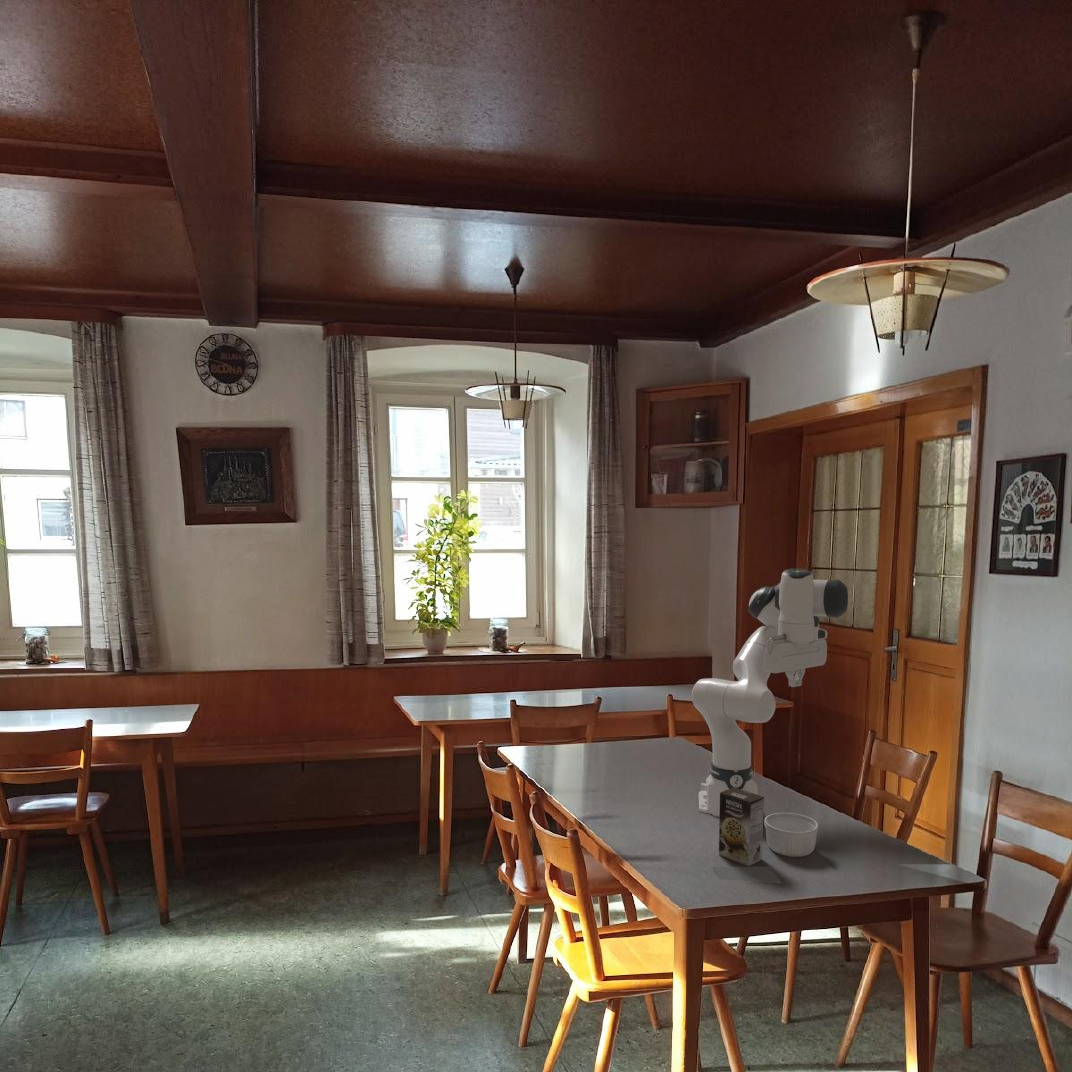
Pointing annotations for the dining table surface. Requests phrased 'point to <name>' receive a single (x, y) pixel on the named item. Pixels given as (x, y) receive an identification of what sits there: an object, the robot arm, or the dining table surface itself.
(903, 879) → the dining table surface
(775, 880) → the mat
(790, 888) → the dining table surface
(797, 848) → the ramekin
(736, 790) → the dark cardboard box
